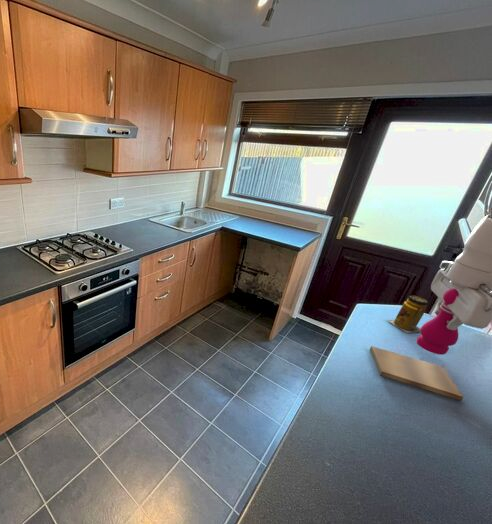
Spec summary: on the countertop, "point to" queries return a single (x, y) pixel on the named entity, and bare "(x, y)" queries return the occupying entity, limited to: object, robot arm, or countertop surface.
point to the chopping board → (415, 372)
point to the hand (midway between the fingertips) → (444, 321)
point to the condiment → (410, 314)
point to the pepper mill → (439, 328)
